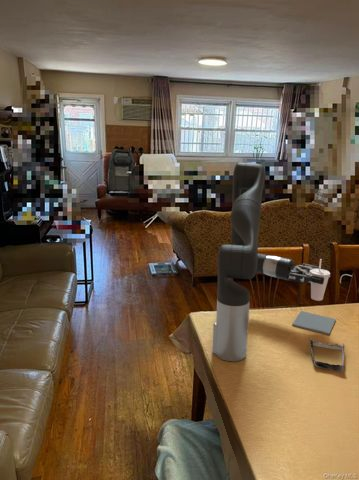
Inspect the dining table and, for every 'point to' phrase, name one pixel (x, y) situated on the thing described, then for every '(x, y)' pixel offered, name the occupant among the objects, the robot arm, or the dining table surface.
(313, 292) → the smoothie
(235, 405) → the dining table surface
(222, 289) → the robot arm
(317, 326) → the mat
